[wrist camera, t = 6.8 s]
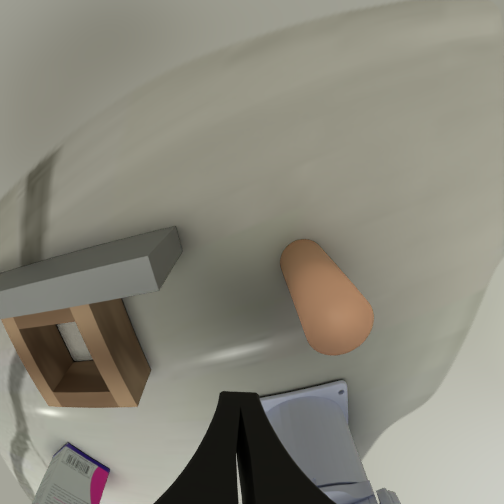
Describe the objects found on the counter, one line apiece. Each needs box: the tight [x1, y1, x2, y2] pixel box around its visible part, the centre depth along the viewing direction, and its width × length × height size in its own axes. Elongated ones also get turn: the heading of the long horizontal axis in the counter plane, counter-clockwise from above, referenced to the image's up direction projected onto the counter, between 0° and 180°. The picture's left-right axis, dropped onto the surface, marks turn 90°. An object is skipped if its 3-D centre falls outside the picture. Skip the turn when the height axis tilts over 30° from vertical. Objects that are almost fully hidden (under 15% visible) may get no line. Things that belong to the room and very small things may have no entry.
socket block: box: [1, 298, 151, 408], centre depth 18 cm, size 8×8×4 cm
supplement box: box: [32, 443, 110, 504], centre depth 20 cm, size 6×6×12 cm
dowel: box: [280, 239, 374, 355], centre depth 15 cm, size 3×3×8 cm
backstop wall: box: [0, 226, 182, 319], centre depth 16 cm, size 2×18×6 cm, turn 102°
